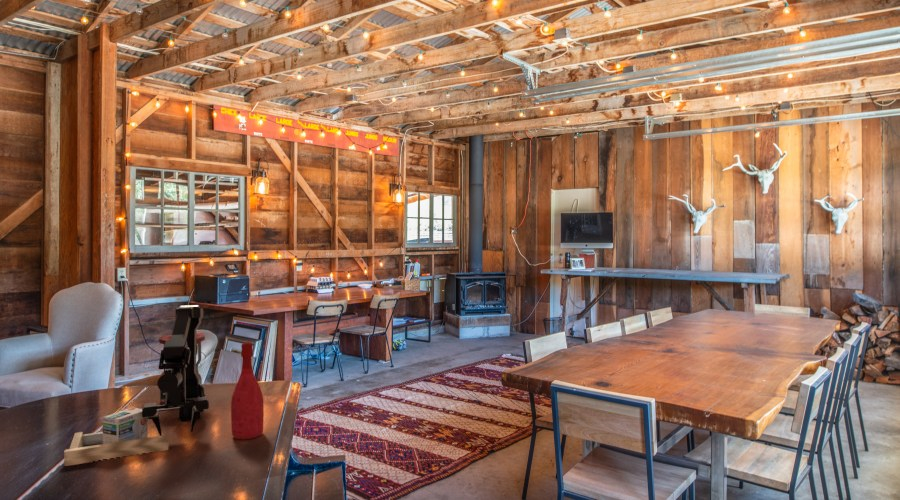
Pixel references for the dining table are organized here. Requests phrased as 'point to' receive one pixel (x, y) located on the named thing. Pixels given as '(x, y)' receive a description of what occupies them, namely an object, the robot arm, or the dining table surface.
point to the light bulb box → (125, 426)
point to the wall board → (111, 449)
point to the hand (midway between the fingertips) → (176, 433)
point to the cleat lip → (92, 438)
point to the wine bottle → (247, 401)
